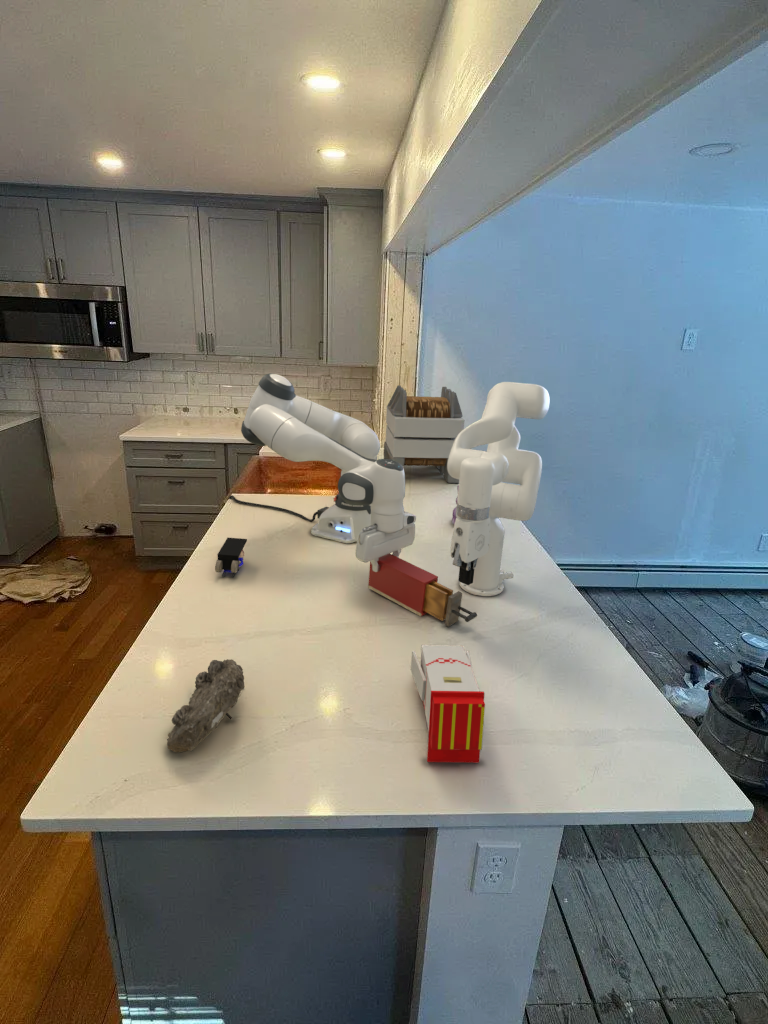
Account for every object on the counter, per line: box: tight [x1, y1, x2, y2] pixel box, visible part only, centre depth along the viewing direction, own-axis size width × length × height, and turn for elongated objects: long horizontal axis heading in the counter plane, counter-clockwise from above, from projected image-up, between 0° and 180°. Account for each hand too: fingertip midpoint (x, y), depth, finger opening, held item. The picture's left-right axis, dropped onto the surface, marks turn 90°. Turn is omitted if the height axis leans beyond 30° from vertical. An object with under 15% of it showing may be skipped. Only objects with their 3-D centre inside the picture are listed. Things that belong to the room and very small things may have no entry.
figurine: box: [451, 484, 459, 526], centre depth 209 cm, size 9×10×15 cm
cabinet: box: [367, 553, 439, 617], centre depth 153 cm, size 19×6×10 cm, turn 47°
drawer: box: [423, 581, 478, 628], centre depth 146 cm, size 24×4×8 cm, turn 47°
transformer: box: [383, 384, 465, 484], centre depth 268 cm, size 34×33×41 cm
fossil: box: [166, 658, 245, 754], centre depth 106 cm, size 22×10×15 cm
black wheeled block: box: [214, 537, 248, 578], centre depth 166 cm, size 7×8×15 cm
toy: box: [410, 644, 486, 764], centre depth 111 cm, size 12×13×30 cm
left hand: (385, 567), depth 156 cm, fingers closed on cabinet, 5 cm apart
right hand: (465, 582), depth 137 cm, fingers closed
